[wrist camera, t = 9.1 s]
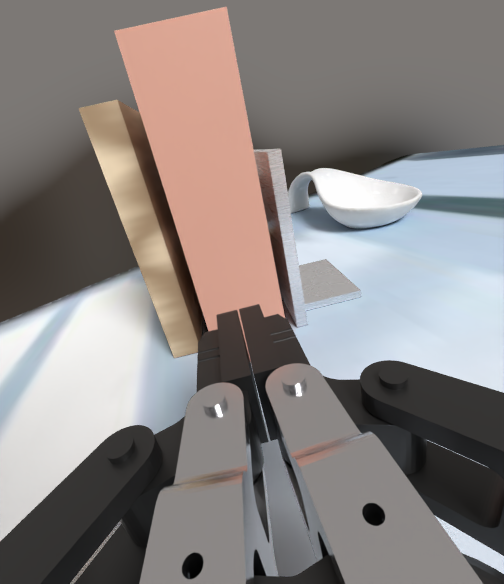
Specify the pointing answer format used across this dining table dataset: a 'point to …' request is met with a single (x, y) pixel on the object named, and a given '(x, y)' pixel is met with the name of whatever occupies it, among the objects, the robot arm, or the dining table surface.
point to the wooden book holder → (146, 219)
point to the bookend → (291, 277)
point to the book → (205, 157)
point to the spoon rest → (354, 197)
